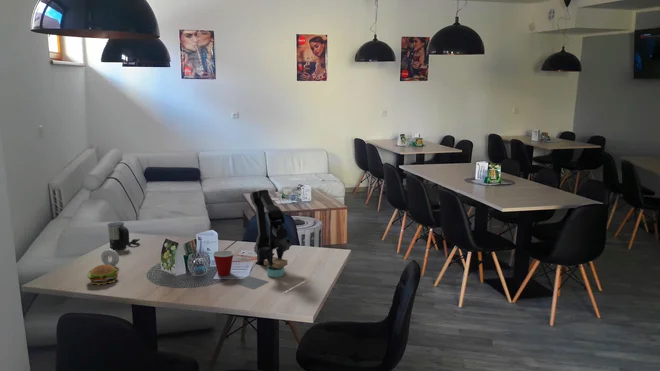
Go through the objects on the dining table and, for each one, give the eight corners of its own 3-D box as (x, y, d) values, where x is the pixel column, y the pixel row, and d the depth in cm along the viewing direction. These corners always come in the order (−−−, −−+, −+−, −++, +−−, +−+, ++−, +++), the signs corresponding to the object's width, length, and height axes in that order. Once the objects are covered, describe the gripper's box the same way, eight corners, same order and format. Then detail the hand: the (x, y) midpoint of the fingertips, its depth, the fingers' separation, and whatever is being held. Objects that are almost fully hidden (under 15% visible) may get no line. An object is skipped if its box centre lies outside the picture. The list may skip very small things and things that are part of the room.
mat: (232, 284, 239) (232, 282, 239) (248, 277, 248) (248, 275, 248) (254, 290, 232) (254, 289, 232) (269, 283, 241) (269, 281, 240)
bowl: (264, 276, 249) (263, 268, 249) (274, 271, 256) (274, 263, 255) (276, 279, 245) (276, 271, 244) (287, 274, 252) (287, 266, 251)
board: (263, 264, 250) (263, 260, 249) (272, 261, 255) (272, 256, 254) (279, 268, 244) (279, 264, 244) (287, 264, 249) (287, 260, 249)
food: (93, 276, 249) (91, 261, 248) (122, 275, 251) (120, 260, 249) (82, 287, 236) (80, 271, 234) (112, 286, 237) (111, 270, 236)
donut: (100, 267, 262) (98, 249, 260) (104, 265, 266) (103, 247, 264) (117, 268, 260) (115, 250, 258) (121, 266, 263) (119, 248, 262)
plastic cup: (239, 273, 254) (238, 250, 251) (226, 280, 244) (225, 257, 242) (222, 269, 258) (221, 247, 256) (209, 276, 249) (208, 254, 246)
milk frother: (106, 249, 291) (103, 225, 288) (122, 241, 306) (120, 218, 303) (128, 251, 288) (125, 226, 285) (143, 242, 303) (141, 219, 301)
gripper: (275, 241, 234) (275, 272, 237) (299, 231, 250) (299, 261, 253) (257, 237, 240) (258, 267, 243) (281, 228, 256) (282, 257, 259)
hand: (275, 263), depth 249 cm, fingers closed on board, 6 cm apart
